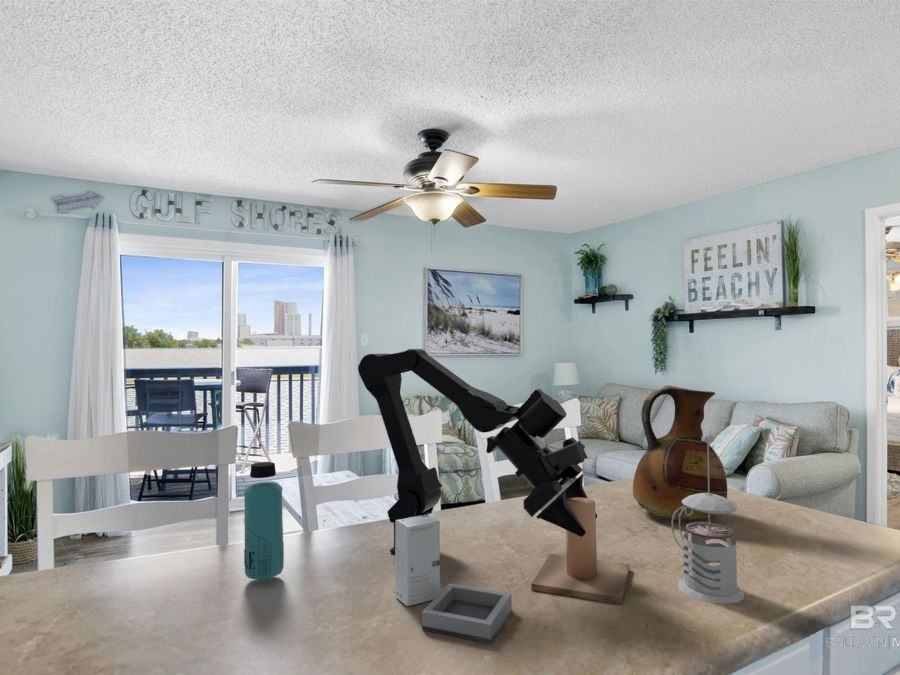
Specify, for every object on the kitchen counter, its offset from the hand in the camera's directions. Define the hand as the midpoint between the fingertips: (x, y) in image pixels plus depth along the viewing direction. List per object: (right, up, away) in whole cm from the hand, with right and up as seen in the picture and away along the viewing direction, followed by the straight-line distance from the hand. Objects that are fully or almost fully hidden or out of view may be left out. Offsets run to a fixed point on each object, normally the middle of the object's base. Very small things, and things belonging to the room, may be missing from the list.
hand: (590, 526), depth 93 cm
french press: (+18, -9, -3) cm, 20 cm away
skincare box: (-28, -10, -6) cm, 31 cm away
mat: (-1, -9, 0) cm, 9 cm away
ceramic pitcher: (+30, -10, +35) cm, 47 cm away
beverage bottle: (-55, -10, +1) cm, 56 cm away
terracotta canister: (-1, -8, +1) cm, 8 cm away
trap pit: (-21, -9, -13) cm, 26 cm away
